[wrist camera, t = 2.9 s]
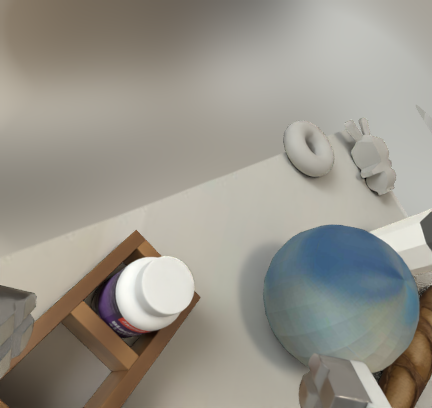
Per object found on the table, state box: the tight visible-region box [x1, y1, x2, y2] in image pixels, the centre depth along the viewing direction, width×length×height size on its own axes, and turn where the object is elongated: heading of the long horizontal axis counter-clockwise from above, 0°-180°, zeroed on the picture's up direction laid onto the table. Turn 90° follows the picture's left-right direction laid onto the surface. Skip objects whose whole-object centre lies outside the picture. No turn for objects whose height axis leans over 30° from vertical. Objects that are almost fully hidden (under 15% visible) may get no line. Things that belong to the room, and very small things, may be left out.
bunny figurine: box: [344, 118, 396, 195], centre depth 64 cm, size 10×5×15 cm
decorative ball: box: [263, 225, 419, 373], centre depth 35 cm, size 15×15×15 cm
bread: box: [378, 285, 432, 408], centre depth 47 cm, size 38×5×5 cm, turn 129°
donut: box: [283, 121, 334, 177], centre depth 55 cm, size 10×4×10 cm
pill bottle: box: [92, 256, 195, 338], centre depth 27 cm, size 5×5×10 cm
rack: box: [0, 230, 201, 408], centre depth 26 cm, size 8×16×4 cm, turn 143°
